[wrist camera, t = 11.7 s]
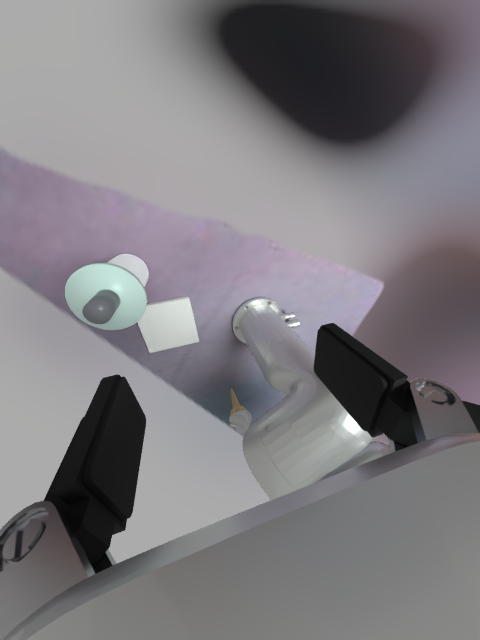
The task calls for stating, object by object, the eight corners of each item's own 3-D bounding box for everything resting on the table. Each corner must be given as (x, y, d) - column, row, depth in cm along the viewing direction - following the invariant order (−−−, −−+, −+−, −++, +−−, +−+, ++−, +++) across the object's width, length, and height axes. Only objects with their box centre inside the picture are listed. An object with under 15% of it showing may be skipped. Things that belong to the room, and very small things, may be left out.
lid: (133, 257, 25) (124, 266, 21) (155, 318, 30) (152, 336, 26) (52, 269, 24) (25, 282, 19) (89, 332, 28) (73, 354, 24)
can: (126, 294, 39) (107, 324, 28) (100, 264, 35) (69, 285, 25) (156, 278, 39) (148, 302, 28) (133, 246, 35) (115, 261, 25)
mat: (188, 296, 42) (189, 297, 41) (199, 339, 47) (199, 341, 46) (132, 306, 40) (131, 308, 39) (150, 350, 45) (149, 353, 44)
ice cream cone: (242, 390, 59) (260, 439, 46) (224, 397, 59) (237, 449, 46) (237, 377, 56) (254, 426, 44) (218, 385, 56) (230, 437, 43)
